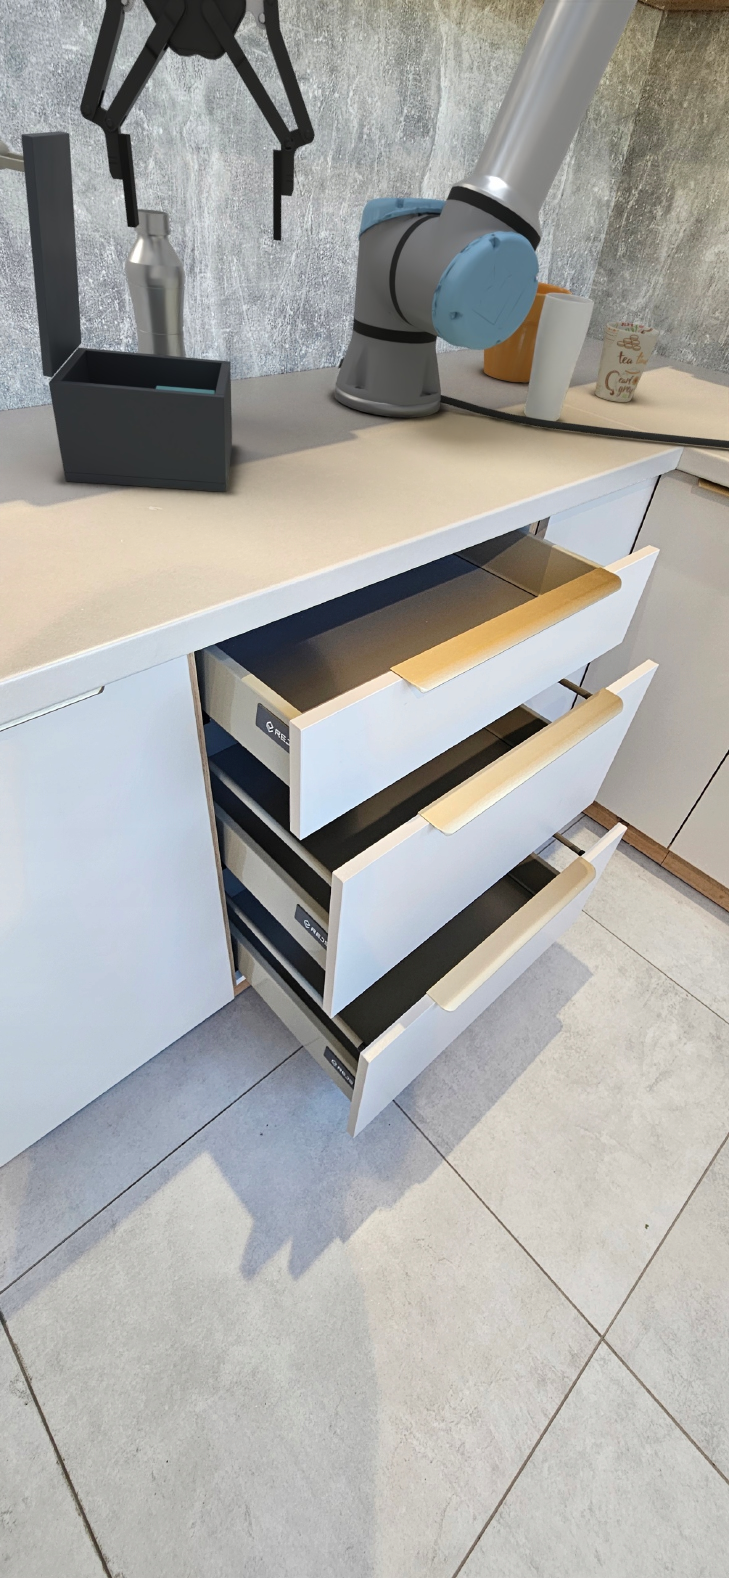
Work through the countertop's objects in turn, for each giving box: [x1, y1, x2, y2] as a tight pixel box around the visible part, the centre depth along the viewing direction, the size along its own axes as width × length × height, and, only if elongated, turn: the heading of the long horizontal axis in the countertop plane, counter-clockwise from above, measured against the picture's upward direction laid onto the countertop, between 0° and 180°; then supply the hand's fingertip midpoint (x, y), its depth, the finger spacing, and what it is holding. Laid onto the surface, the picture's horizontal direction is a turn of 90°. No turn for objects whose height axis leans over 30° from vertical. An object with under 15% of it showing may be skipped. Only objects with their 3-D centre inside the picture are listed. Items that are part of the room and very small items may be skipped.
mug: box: [594, 321, 660, 403], centre depth 120 cm, size 8×13×10 cm, turn 158°
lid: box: [0, 130, 82, 378], centre depth 66 cm, size 17×14×6 cm
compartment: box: [48, 347, 233, 493], centre depth 76 cm, size 16×14×9 cm
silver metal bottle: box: [124, 208, 187, 357], centre depth 85 cm, size 6×7×20 cm
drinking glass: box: [523, 293, 595, 422], centre depth 103 cm, size 7×7×15 cm
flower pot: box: [483, 281, 573, 383], centre depth 121 cm, size 14×14×13 cm
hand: (206, 232), depth 70 cm, fingers open, 13 cm apart
